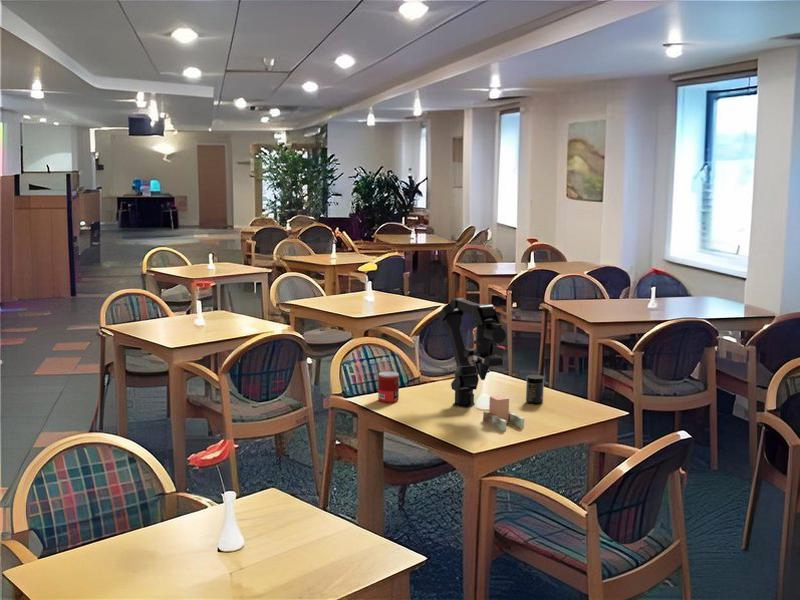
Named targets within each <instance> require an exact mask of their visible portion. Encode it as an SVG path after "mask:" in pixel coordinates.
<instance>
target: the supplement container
mask: <svg viewBox="0 0 800 600" xmlns="http://www.w3.org/2000/svg"><path fill="white" fill-rule="evenodd" d="M544 383H545V376H543V375H539V374H528V375H526V385H525V386H526V387H525V389H526V390H525V391H526V393H525V402H526V403H527V404H528V405H532V404H533V405H534V406H535V405H542V404H543V403H544V389H545V388H544V387H545V385H544Z"/></svg>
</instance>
